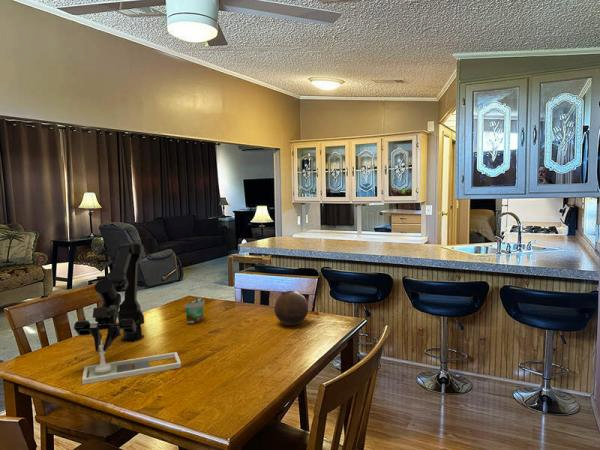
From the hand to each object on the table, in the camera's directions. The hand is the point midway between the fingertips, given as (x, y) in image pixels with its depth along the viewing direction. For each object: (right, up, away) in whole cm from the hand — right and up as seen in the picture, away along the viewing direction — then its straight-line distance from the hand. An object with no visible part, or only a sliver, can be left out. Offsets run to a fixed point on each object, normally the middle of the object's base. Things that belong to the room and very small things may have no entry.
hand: (100, 351), depth 138 cm
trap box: (+8, -8, +6) cm, 13 cm away
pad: (0, -8, +2) cm, 8 cm away
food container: (+18, -4, +57) cm, 60 cm away
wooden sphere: (+61, -4, +51) cm, 80 cm away
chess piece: (0, -7, +2) cm, 7 cm away
